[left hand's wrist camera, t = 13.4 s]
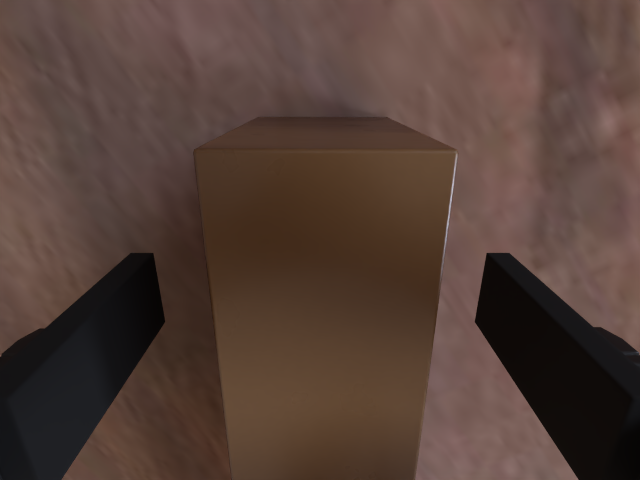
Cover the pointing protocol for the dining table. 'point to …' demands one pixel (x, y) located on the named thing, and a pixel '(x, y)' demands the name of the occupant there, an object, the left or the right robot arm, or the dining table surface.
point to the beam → (324, 291)
